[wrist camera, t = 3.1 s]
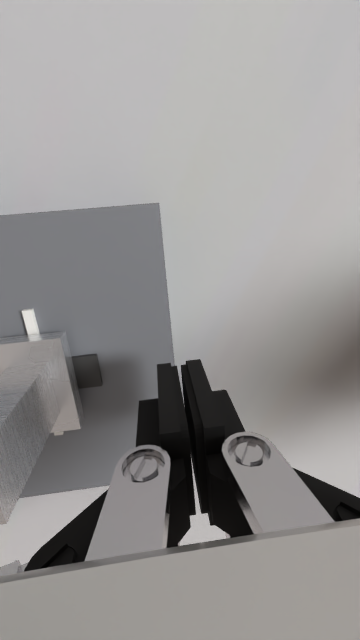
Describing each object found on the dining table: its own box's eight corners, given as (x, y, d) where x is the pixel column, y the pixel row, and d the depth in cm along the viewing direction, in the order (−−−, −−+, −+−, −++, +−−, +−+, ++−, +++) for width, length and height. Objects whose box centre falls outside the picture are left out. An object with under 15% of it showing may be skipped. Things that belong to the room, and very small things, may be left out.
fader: (-7, 338, 12) (-137, 432, 7) (65, 331, 12) (-2, 415, 7) (19, 425, 14) (-70, 562, 8) (84, 417, 14) (41, 544, 8)
